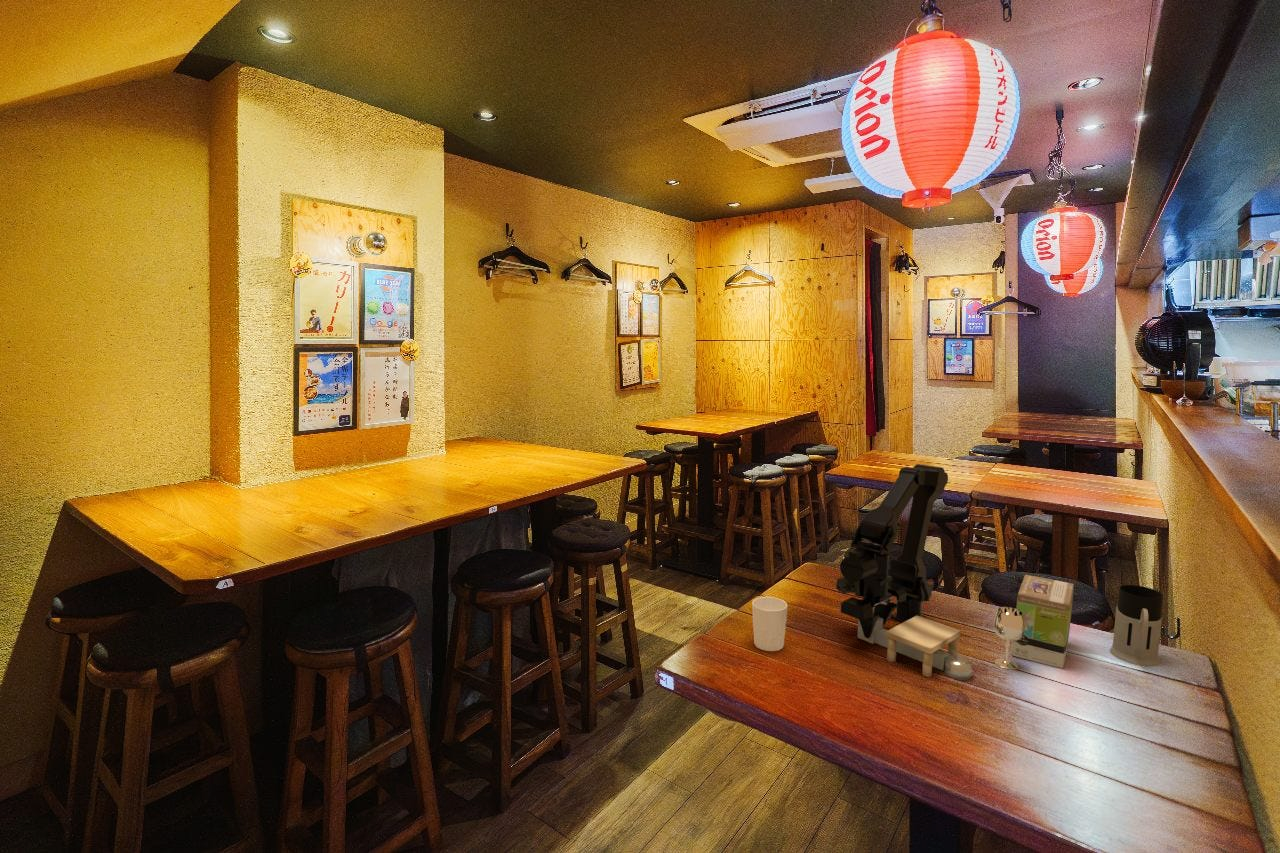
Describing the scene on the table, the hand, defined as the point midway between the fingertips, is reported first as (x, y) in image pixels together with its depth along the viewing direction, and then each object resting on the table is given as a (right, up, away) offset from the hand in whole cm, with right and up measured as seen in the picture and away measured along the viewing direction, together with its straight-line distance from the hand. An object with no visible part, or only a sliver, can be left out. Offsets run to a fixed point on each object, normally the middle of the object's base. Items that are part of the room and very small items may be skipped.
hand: (872, 635), depth 147 cm
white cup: (-25, -2, -2) cm, 25 cm away
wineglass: (+25, -3, -12) cm, 27 cm away
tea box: (+36, -2, -5) cm, 37 cm away
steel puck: (+12, -3, -15) cm, 20 cm away
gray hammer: (+5, -2, -6) cm, 7 cm away
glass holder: (+53, -2, -11) cm, 54 cm away
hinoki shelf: (+7, -2, -9) cm, 12 cm away
